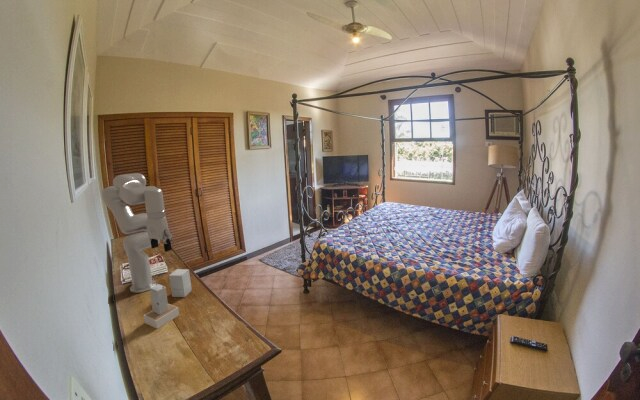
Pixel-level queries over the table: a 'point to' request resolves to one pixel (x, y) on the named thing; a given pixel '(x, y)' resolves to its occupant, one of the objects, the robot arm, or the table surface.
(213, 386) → the table surface
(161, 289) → the skincare box
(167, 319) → the tray
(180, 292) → the supplement box
